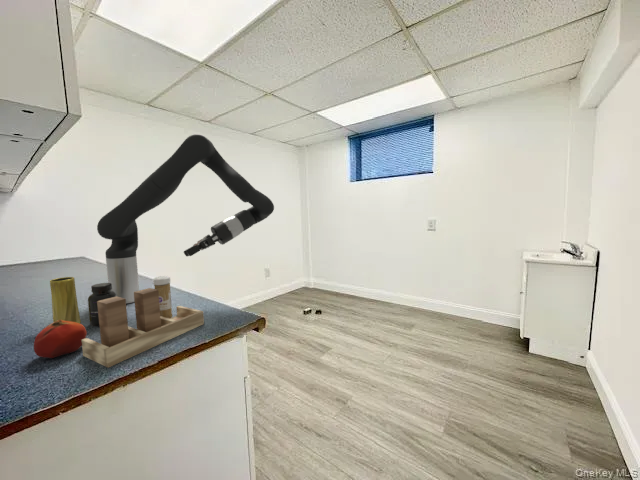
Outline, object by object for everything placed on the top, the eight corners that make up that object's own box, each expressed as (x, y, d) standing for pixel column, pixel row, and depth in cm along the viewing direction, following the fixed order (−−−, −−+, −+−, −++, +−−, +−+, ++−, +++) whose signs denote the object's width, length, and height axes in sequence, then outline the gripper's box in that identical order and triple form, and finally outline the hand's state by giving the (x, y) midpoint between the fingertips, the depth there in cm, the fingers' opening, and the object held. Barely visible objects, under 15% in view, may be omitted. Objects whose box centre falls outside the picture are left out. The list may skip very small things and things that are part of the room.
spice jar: (154, 322, 81) (151, 279, 80) (158, 316, 85) (155, 276, 84) (171, 320, 82) (168, 278, 81) (174, 314, 87) (171, 275, 85)
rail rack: (83, 355, 62) (77, 302, 61) (180, 317, 84) (177, 278, 83) (108, 367, 57) (102, 310, 56) (204, 323, 79) (201, 282, 78)
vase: (47, 330, 76) (41, 282, 74) (62, 322, 82) (57, 277, 80) (72, 328, 77) (67, 280, 76) (85, 320, 83) (81, 276, 81)
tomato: (82, 340, 70) (79, 311, 69) (93, 350, 64) (90, 319, 64) (31, 356, 62) (27, 323, 61) (39, 369, 57) (34, 333, 56)
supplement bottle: (91, 329, 76) (87, 289, 75) (88, 322, 81) (84, 284, 80) (120, 322, 81) (117, 284, 80) (116, 316, 86) (112, 280, 85)
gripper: (217, 223, 102) (177, 245, 94) (226, 218, 90) (181, 243, 82) (228, 239, 103) (190, 263, 95) (238, 236, 92) (195, 263, 84)
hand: (186, 254), depth 89 cm, fingers open, 8 cm apart
